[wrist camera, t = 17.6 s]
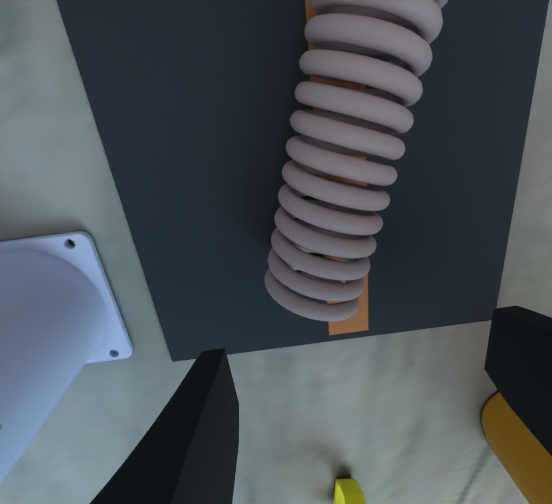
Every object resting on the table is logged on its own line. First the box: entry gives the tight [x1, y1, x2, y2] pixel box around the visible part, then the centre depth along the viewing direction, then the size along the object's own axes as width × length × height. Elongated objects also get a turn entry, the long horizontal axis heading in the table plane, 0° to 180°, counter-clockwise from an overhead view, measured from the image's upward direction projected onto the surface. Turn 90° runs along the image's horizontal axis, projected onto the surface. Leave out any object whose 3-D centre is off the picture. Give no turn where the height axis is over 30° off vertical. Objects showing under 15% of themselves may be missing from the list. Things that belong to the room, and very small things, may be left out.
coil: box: [265, 0, 448, 321], centre depth 13 cm, size 5×5×18 cm
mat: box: [57, 0, 549, 362], centre depth 15 cm, size 20×26×1 cm
